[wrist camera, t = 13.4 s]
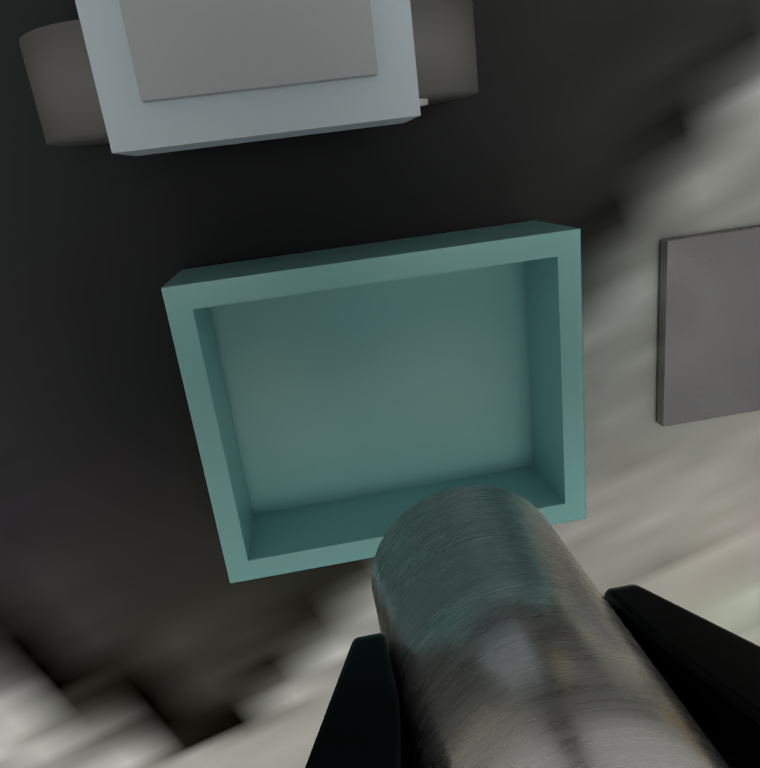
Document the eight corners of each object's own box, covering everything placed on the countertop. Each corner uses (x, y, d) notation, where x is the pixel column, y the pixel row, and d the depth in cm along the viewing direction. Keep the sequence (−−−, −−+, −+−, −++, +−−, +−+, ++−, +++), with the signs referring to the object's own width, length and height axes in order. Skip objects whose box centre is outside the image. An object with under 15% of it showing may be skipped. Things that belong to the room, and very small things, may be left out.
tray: (181, 269, 18) (160, 288, 15) (535, 220, 19) (580, 228, 16) (238, 525, 20) (230, 583, 18) (545, 471, 21) (586, 518, 18)
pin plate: (660, 240, 19) (667, 241, 19) (842, 213, 20) (853, 214, 20) (656, 422, 21) (663, 426, 21) (823, 393, 22) (831, 397, 21)
